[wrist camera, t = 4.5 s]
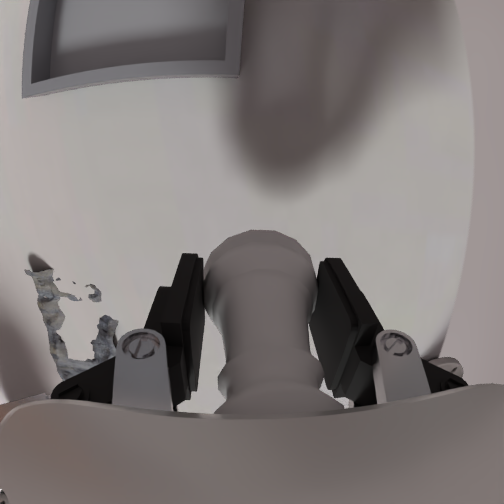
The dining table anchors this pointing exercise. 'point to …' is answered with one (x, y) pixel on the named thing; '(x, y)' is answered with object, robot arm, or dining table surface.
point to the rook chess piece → (265, 324)
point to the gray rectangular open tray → (128, 42)
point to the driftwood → (55, 320)
